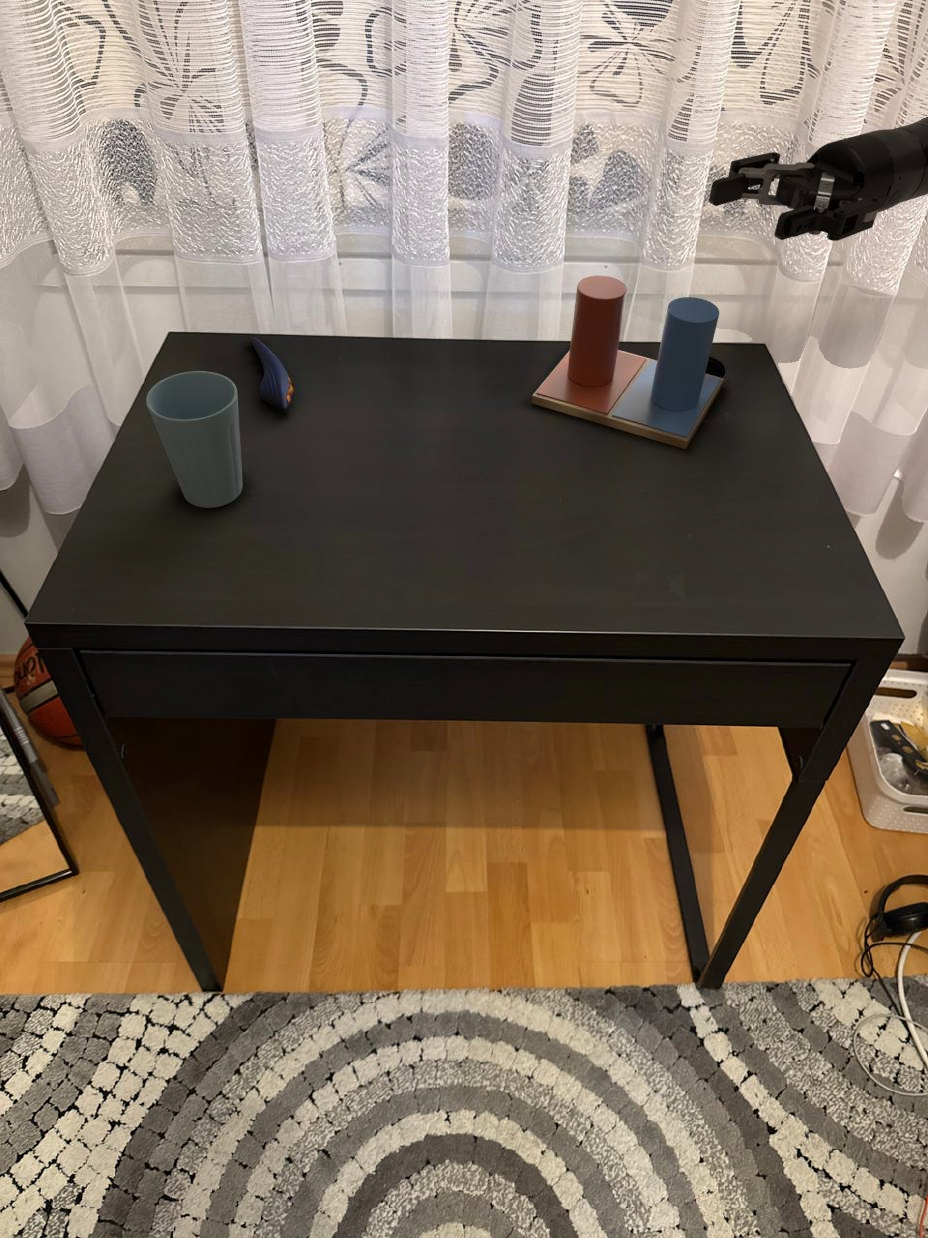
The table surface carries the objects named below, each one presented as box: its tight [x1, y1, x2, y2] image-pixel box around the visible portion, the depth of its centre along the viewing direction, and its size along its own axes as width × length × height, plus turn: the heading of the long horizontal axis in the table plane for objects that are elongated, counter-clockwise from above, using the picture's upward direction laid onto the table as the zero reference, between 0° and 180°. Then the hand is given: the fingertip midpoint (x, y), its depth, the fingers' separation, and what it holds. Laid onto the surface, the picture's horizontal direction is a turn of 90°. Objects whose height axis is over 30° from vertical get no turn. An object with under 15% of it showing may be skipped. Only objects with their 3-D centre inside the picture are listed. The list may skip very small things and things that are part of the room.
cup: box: [145, 370, 244, 509], centre depth 84 cm, size 8×8×10 cm
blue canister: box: [651, 296, 720, 411], centre depth 94 cm, size 5×5×10 cm
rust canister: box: [567, 275, 628, 387], centre depth 97 cm, size 5×5×10 cm
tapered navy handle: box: [250, 336, 294, 411], centre depth 100 cm, size 16×4×2 cm, turn 20°
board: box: [531, 349, 725, 450], centre depth 100 cm, size 17×13×1 cm
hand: (745, 210), depth 85 cm, fingers open, 8 cm apart
